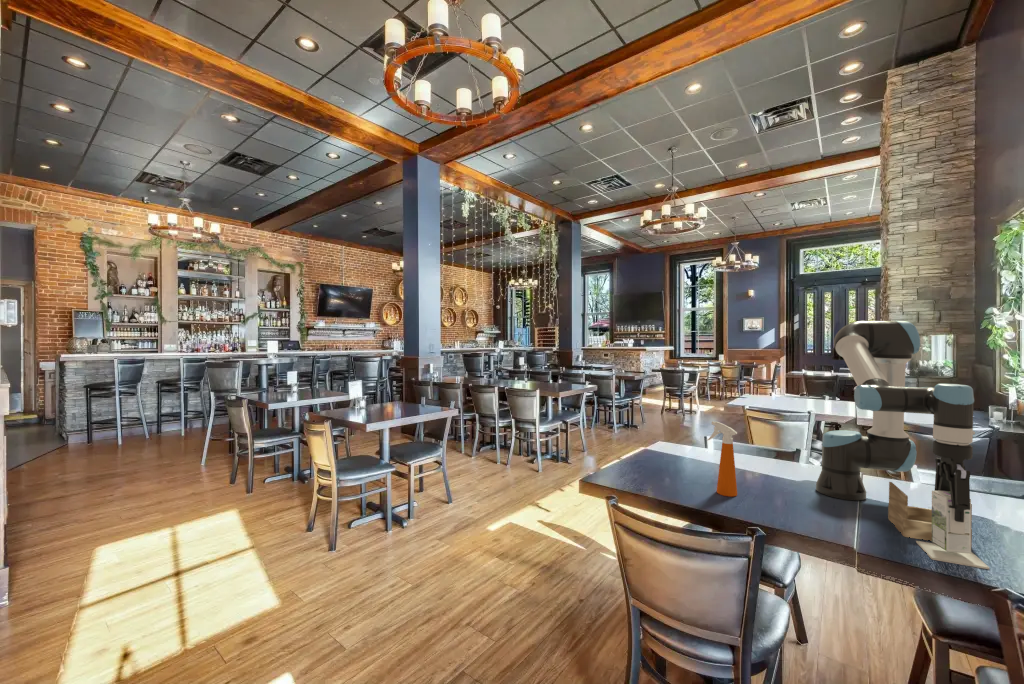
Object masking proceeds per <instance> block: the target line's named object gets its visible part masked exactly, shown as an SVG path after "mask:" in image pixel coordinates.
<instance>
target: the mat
mask: <svg viewBox="0 0 1024 684" xmlns="http://www.w3.org/2000/svg"><path fill="white" fill-rule="evenodd" d="M915 542H916V544H917V545H918V546H919V547H920V549H922V551H924V553H925V552H926V553H927V554H926V553H925V554H926V555H927V556H928V557H929V558H930V559H931V560H934V561H939V562H944V563H950V564H957V565H962V566H966V567H967V566H968V567H973V568H978V569H984V570H985V569H986V570H990V566H989V565H987V564H986V563H984V562H985V561H983V560H982V559H980V557H978V556H977V555H976V554H974V552H972V551H971V554H970V553H957V552H949V551H946V550H944V549H942V548H941V547H939V546H938V545H936V544H934V543H933V542H929V541H928V542H927V541H922V540H921V541H920V540H915Z"/></svg>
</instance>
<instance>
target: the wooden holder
mask: <svg viewBox="0 0 1024 684" xmlns="http://www.w3.org/2000/svg"><path fill="white" fill-rule="evenodd" d="M908 499H909V496H908V495H907V494H906V493H905V492H904V491H903V490H902V489H900V488H899V487H898V486H897V485H896V484H895V483H893V481H889V482H888V503H887V504H888V505H887V506H888V507H887V509H888V510H887V516H888V517H887V519H888V521H890V522H891V524H892V523H893V524H894V525H895V526H894V525H893V524H892V525H893V526H894V527H895V528H896V530H897V531H898V532H899V533H900V532H901V533H900V534H901V535H902V536H903V537H904V538H909V537H910V538H911V539H917V540H922V539H923V540H924V541H928V540H930V541H931V542H932V508H926V507H918V506H910V505H909V504H908V503H909V500H908ZM972 511H973V504H972V503H971V527H973V525H972V523H973V522H972V521H973V520H972V518H973V517H972V516H973V514H972V513H973V512H972ZM972 537H973V530H972V528H971V549H972V547H973V545H972V544H973V543H972V540H973V538H972ZM923 540H922V541H923ZM930 541H929V542H930Z"/></svg>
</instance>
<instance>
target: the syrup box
mask: <svg viewBox="0 0 1024 684" xmlns="http://www.w3.org/2000/svg"><path fill="white" fill-rule="evenodd" d="M971 504H972V498H970V510H965V535H964V534H958V533H951V532H950V508H949V506H948V505H951V506H952V501H951V493H950V491H934V490H931V509H932V541H931V543H934V544H936V545H938V546H939V547H941V548H942V549H944V550H946V551H949V552H957V553H970V554H971V552H972V548H971V529H972V526H971Z"/></svg>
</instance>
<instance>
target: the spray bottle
mask: <svg viewBox="0 0 1024 684" xmlns="http://www.w3.org/2000/svg"><path fill="white" fill-rule="evenodd" d="M711 425H713V426H714V427H713V429H714V430H713V432H712V434H711V435H710V436H709V437H708V438H707V439H706V440H707V441H710V440H712V439H714V438H715V437H716V436H717V435H719V434H722V436H723V437H722V442H721V450H720V459H719V468H718V477H717V482H716V483H717V484H716V493H717V494H718V495H720V496H724V497H731V498H732V497H737V496H738V487H737V484H738V483H737V474H736V464H735V461H736V460H735V453H734V444H733V443H734V437H733V436H735V435H737V434H738V431H736V430H735V429H733V428H732V427H730V426H728V425H726V424H724V423H722V422H719V421H713V420H712V421H711Z"/></svg>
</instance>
